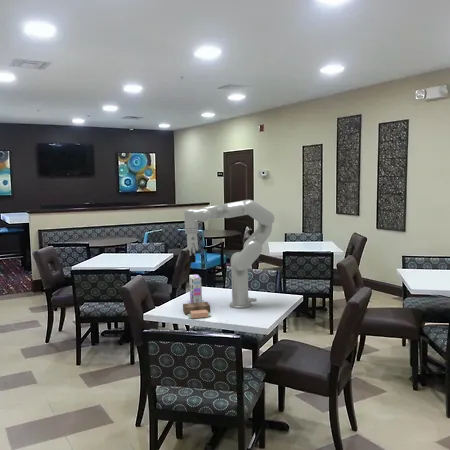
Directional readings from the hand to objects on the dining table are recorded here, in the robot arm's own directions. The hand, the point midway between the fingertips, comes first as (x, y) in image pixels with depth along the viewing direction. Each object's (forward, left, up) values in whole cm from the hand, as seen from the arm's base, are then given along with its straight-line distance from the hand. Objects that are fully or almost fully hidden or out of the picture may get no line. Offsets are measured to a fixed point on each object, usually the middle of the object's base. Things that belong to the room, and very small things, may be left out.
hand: (192, 262), depth 271 cm
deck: (0, +8, -27) cm, 28 cm away
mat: (0, +16, -27) cm, 32 cm away
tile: (0, +18, -25) cm, 31 cm away
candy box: (-3, -12, -27) cm, 30 cm away
